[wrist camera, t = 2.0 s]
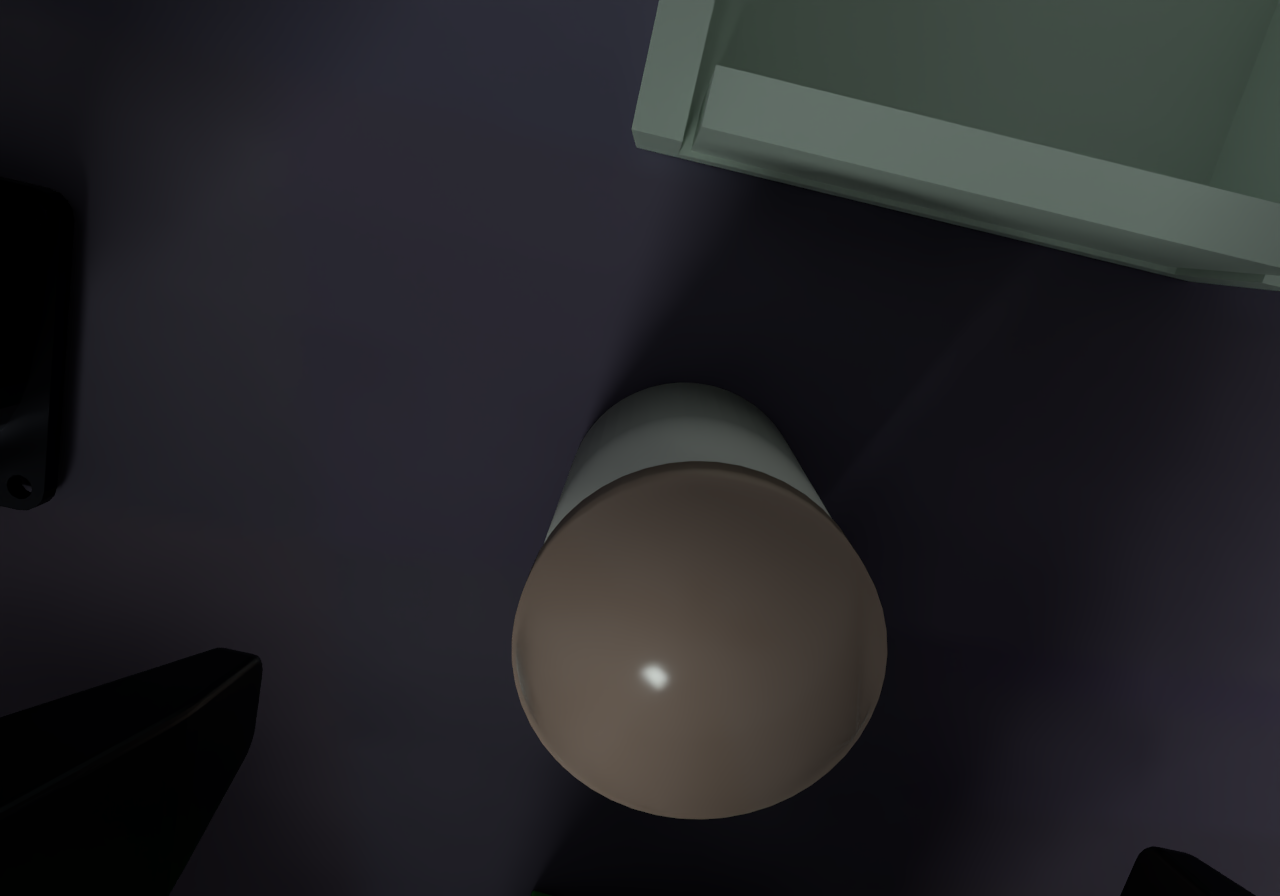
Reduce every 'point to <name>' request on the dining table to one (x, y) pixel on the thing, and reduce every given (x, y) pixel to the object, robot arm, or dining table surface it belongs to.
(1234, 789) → the dining table surface
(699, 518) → the jar
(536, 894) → the milk carton
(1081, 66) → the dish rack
